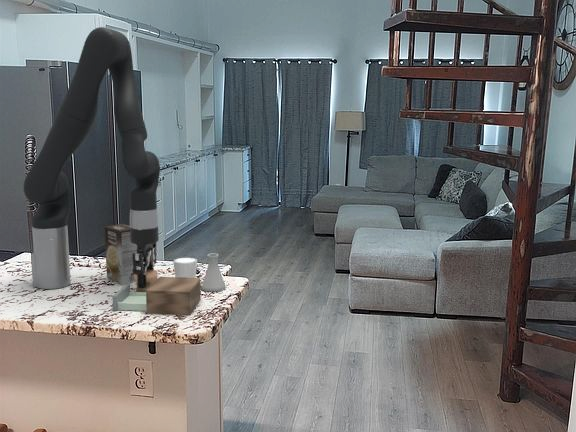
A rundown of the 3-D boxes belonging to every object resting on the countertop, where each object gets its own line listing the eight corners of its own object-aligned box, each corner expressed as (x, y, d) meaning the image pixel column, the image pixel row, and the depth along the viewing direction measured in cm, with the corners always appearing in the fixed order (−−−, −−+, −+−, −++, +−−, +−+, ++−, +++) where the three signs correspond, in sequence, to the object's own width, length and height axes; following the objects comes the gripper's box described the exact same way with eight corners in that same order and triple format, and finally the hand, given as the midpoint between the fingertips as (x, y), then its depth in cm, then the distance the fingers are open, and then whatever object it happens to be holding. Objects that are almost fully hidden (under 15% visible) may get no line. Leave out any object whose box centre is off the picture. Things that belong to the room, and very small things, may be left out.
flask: (221, 293, 160) (221, 258, 158) (196, 291, 161) (196, 256, 160) (229, 285, 167) (229, 252, 165) (205, 284, 168) (205, 250, 166)
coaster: (130, 282, 157) (130, 275, 156) (138, 275, 163) (137, 268, 163) (153, 283, 156) (153, 276, 156) (160, 276, 163) (160, 269, 162)
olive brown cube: (136, 293, 158) (136, 281, 158) (141, 289, 162) (140, 277, 162) (150, 294, 158) (150, 281, 158) (155, 289, 162) (154, 277, 162)
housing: (146, 313, 143) (145, 290, 142) (160, 297, 155) (159, 276, 154) (190, 315, 143) (189, 292, 142) (200, 299, 154) (200, 278, 153)
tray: (112, 310, 145) (112, 296, 144) (127, 297, 155) (126, 283, 154) (155, 312, 144) (155, 297, 143) (167, 298, 154) (166, 285, 153)
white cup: (175, 279, 172) (174, 257, 170) (198, 279, 172) (198, 257, 171) (172, 286, 165) (172, 263, 164) (196, 286, 166) (196, 263, 164)
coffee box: (105, 278, 172) (103, 226, 169) (124, 274, 176) (122, 223, 173) (122, 285, 165) (120, 231, 162) (141, 281, 170) (139, 227, 167)
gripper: (139, 219, 164) (141, 276, 167) (121, 230, 150) (123, 291, 153) (164, 220, 164) (166, 277, 167) (149, 230, 150) (151, 292, 153)
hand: (146, 283), depth 160 cm, fingers closed on coaster, 6 cm apart
